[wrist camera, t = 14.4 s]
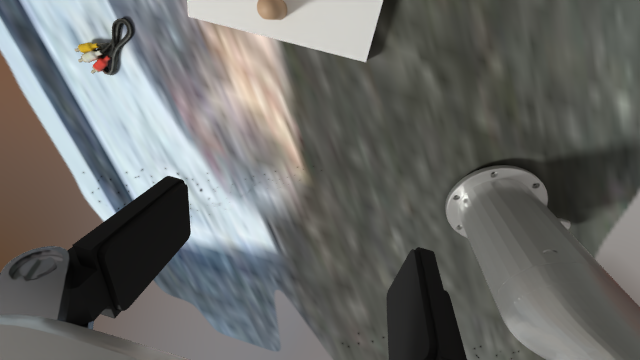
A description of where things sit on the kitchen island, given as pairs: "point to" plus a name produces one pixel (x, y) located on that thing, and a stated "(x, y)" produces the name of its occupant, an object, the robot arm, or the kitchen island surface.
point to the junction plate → (299, 21)
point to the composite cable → (106, 49)
